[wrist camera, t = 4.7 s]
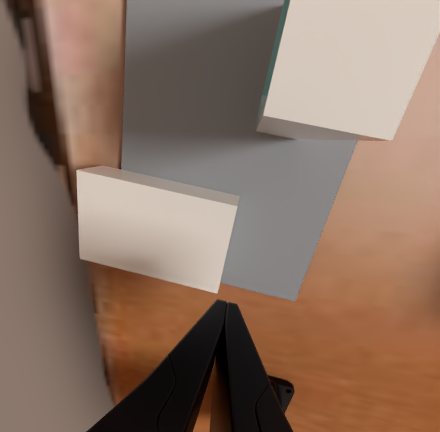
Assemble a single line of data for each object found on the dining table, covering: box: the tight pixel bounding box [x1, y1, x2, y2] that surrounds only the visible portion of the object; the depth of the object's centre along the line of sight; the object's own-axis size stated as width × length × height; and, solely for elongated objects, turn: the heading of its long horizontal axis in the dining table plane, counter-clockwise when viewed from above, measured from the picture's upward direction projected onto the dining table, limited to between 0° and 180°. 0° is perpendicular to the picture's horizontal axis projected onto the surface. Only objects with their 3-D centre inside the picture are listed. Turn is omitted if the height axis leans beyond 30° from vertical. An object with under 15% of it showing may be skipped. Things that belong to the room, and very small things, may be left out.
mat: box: [121, 0, 358, 301], centre depth 14 cm, size 18×14×1 cm
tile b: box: [256, 0, 440, 141], centre depth 8 cm, size 6×2×10 cm, turn 169°
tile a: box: [76, 165, 240, 293], centre depth 15 cm, size 6×2×10 cm
